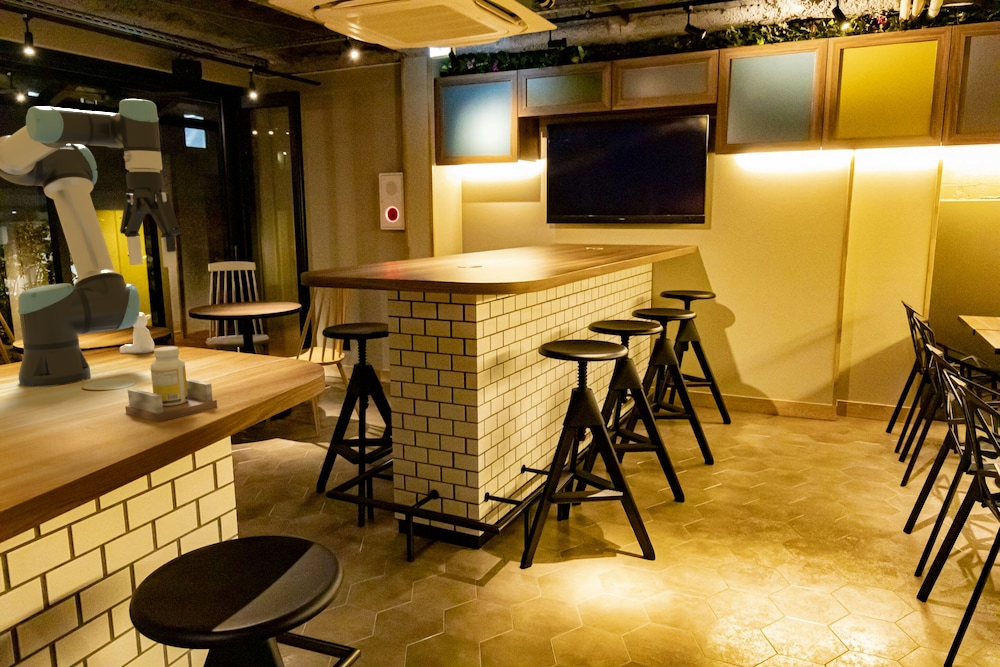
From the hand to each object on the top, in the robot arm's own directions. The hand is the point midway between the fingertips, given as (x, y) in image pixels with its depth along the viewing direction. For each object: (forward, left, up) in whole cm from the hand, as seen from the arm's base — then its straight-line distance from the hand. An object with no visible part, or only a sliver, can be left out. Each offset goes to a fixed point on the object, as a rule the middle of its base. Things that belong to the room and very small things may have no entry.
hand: (152, 265), depth 164 cm
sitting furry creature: (-46, +22, -29) cm, 59 cm away
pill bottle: (+20, -11, -27) cm, 36 cm away
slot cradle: (+20, -11, -29) cm, 37 cm away
